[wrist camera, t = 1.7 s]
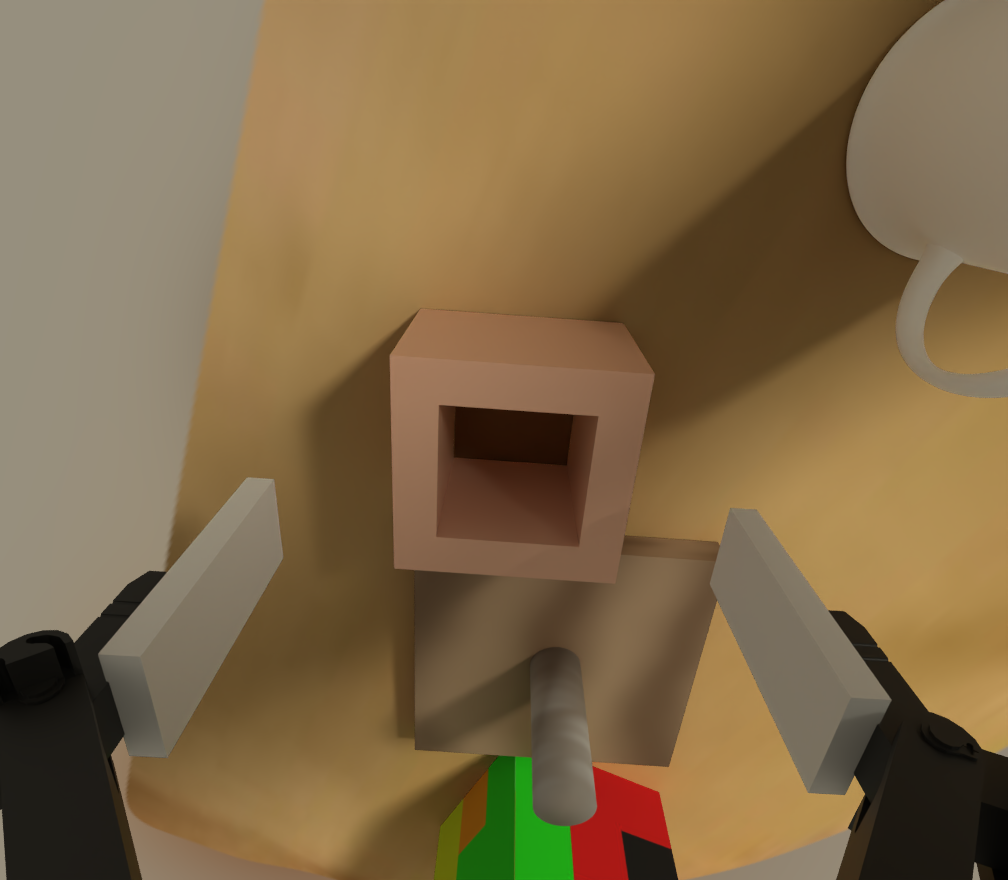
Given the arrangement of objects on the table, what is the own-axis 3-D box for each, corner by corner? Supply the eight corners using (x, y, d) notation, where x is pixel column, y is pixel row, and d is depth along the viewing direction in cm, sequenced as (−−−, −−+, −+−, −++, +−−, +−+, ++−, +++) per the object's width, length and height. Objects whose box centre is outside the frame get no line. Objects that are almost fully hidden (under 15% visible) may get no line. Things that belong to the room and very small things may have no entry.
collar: (623, 323, 23) (655, 374, 18) (595, 496, 26) (615, 583, 21) (420, 308, 23) (389, 355, 18) (419, 484, 26) (394, 568, 21)
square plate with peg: (717, 542, 27) (794, 691, 20) (662, 742, 34) (704, 915, 26) (419, 521, 27) (380, 663, 20) (419, 725, 33) (388, 894, 26)
